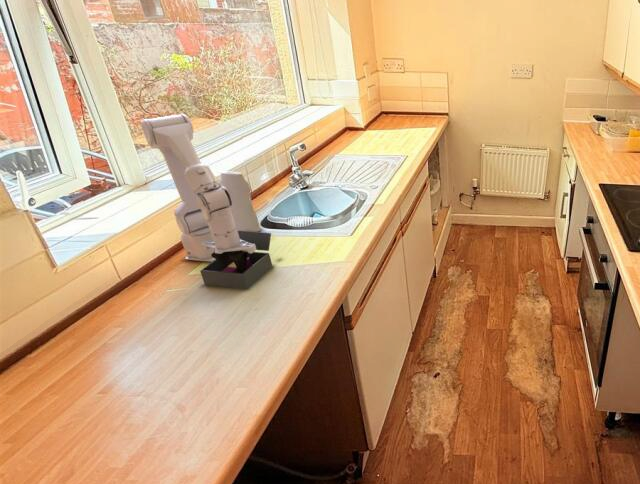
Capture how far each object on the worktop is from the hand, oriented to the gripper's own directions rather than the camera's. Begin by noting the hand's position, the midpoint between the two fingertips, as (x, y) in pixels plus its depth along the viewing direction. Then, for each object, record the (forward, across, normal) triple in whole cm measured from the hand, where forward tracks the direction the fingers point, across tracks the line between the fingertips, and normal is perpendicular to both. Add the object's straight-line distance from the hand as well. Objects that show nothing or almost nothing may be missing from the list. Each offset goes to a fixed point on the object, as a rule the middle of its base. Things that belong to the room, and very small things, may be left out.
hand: (237, 271), depth 115 cm
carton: (+2, 0, 0) cm, 2 cm away
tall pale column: (+2, -17, +26) cm, 31 cm away
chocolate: (+1, 0, 0) cm, 1 cm away
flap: (-6, 0, +7) cm, 9 cm away
